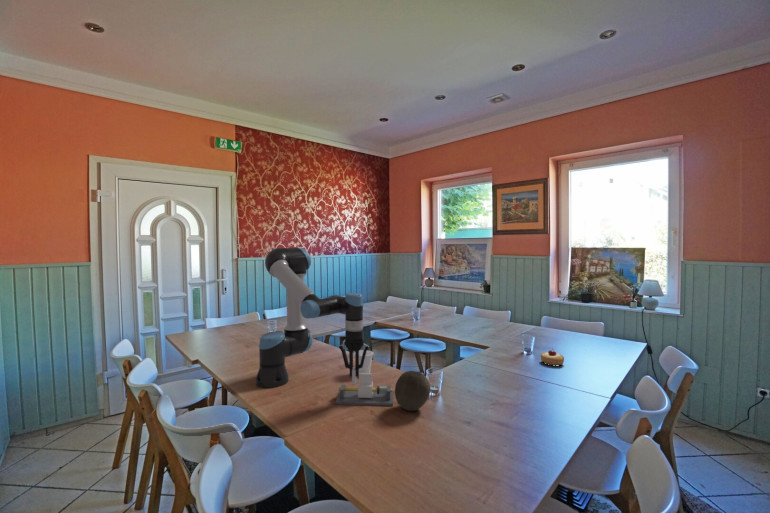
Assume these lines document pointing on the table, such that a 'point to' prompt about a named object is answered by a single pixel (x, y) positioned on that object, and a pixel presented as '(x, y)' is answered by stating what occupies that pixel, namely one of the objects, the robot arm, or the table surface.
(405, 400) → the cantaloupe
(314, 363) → the table surface
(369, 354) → the cup
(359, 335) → the robot arm
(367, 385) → the sleeve
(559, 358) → the pastry
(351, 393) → the horizontal rod stand
